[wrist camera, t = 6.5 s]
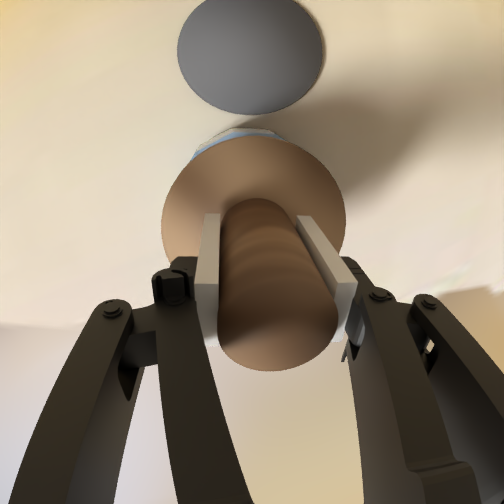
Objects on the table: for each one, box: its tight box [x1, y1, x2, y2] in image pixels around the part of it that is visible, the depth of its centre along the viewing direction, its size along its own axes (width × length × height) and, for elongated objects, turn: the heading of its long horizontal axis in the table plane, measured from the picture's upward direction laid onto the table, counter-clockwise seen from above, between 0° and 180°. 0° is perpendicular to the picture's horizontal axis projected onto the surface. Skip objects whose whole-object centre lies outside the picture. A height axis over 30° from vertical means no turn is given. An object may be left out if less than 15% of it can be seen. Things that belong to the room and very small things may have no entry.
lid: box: [161, 136, 346, 371], centre depth 14 cm, size 10×10×9 cm
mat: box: [177, 0, 322, 115], centre depth 19 cm, size 11×11×1 cm
